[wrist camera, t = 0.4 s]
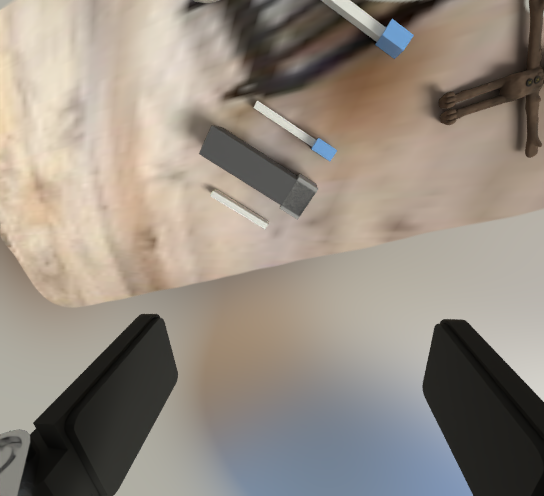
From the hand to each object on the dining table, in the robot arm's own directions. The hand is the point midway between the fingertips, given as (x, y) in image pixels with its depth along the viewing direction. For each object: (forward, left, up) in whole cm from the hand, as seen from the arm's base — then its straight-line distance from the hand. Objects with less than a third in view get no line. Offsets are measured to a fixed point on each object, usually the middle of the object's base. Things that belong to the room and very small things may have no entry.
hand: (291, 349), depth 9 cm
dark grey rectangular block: (-7, 0, -33) cm, 33 cm away
